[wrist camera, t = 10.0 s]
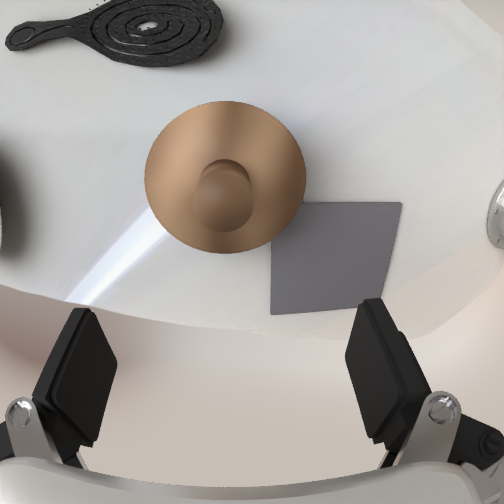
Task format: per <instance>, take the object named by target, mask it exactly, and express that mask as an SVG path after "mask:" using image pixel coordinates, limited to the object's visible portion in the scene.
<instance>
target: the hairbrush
mask: <svg viewBox="0 0 504 504" xmlns="http://www.w3.org/2000/svg"><path fill="white" fill-rule="evenodd" d="M104 1H105V0H104ZM129 1H131V0H111V1H109V2H107V3H105V4H103V5H101V6H98V8H96V9H94V10H92V11H90V12H88V13H85V14H82V15H79V16H76V17H73V18H71V19H66V20H55V21H46V22H36V21H27V22H25V23H22V24H20V25H18V26H16V27H14V28H13V29H12V31H11V32H10V33H9V34H8V36H7V37H6V41H5V45H6V46H7V48H8V49H9V50H10V51H20V50H24V49H27V48H29V47H32V46H34V45H36V44H38V43H40V42H43V41H46V40H51V39H56V38H61V37H71V38H73V39H75V40H78V41H80V42H82V43H84V44H86V45H88V46H89V47H91V48H93V49H95V50H96V51H98V52H99V53H101V54H103V55H105V56H106V57H108V58H110V59H111V60H113V61H117V62H122V63H126V64H131V65H137V66H143V67H168V66H172V65H176V64H181V63H184V62H187V61H189V60H192V59H196V58H199V57H201V56H202V55H203V54H204V53H206V52H207V51H208V50H209V49H210V47H211V46H212V45H213V44H214V43H215V42H217V39H218V36H219V34H220V31H221V29H222V24H223V21H224V20H223V17H222V14H221V11H220V9H219V7H218V6H217V5H216V4H215V3H214V1H213V0H192V1H194V2H196V3H198V4H200V5H202V6H203V7H204V8H205V9H206V10H207V11H208V13H209V15H210V17H211V19H212V22H213V26H212V29H211V21H210V18H209V16H208V15H207V13H206V12H205V11H204V10H203V8H202V7H201V6H200V5H198V4H196V3H193V2H191V1H189V0H135V1H131V2H129ZM126 2H127V3H126ZM97 5H98V4H97ZM158 5H159V6H158ZM174 5H175V6H174ZM115 6H116V7H115ZM146 6H158V7H146ZM179 6H180V7H183V8H186V9H188V10H191V11H193V12H195V13H196V14H197V15H198V16H199V17H200V19H201V22H200V21H199V19H198V17H197V16H195V15H194V13H192V12H190V11H187V10H185V9H183V8H180V7H179ZM139 7H146V8H140V9H135V8H139ZM110 8H111V9H110ZM109 9H110V10H109ZM132 9H135V10H132ZM89 10H91V9H90V8H89ZM129 10H131V11H129ZM125 11H126V12H125ZM123 12H124V13H123ZM122 13H123V14H122ZM149 14H155V15H149ZM156 14H162V15H156ZM163 14H169V15H175V16H178V17H180V18H181V19H182V20H183V21H184V23H185V25H184V24H183V22H182V21H181V20H180V19H178V18H177V17H174V16H168V15H163ZM119 15H120V16H119ZM143 15H147V16H143ZM140 16H142V17H140ZM116 17H117V18H116ZM138 17H140V18H138ZM135 18H137V19H135ZM131 20H132V21H131ZM130 21H131V22H130ZM149 21H153V22H157V23H158V25H157V27H154V28H150V27H147V28H150V29H147V30H143V31H140V29H141V28H139V29H137V25H138V24H141V23H145V22H149ZM129 22H130V23H129ZM200 23H201V24H200ZM63 26H73V27H63ZM155 26H156V25H155ZM29 27H34V28H35V29H34V28H29ZM126 27H127V29H128V32H127V31H126ZM107 28H108V29H107ZM52 29H53V30H52ZM200 29H201V30H200ZM163 31H164V32H163ZM200 31H201V32H200ZM199 32H200V33H199ZM129 33H131V34H136V35H140V36H143V37H140V36H139V37H136V36H135V37H134V36H130V35H129ZM160 33H161V34H160ZM198 33H199V34H198ZM109 34H110V35H111V36H112V37H114V38H115V39H117V40H119V41H120V42H125V43H132V44H153V43H159V42H165V43H161V44H154V45H148V46H147V45H146V46H137V45H126V44H121V43H118V42H116V41H114V40H113V39H112V38H111V37H110V36H109ZM155 34H160V35H158V36H155ZM180 34H181V35H180ZM146 35H148V36H146ZM149 35H150V36H149ZM152 35H154V36H152ZM178 35H179V36H178ZM176 36H177V37H176ZM208 36H209V37H208ZM96 37H97V38H98V39H99V41H100V42H101V43H102V44H103V45H106V46H108V47H111V48H114V49H116V50H119V51H122V52H126V53H133V54H139V55H156V56H146V57H142V56H141V57H139V56H133V55H126V54H121V53H118V52H115V51H112V50H110V49H108V48H106V47H105V46H103V45H102V44H101V43H100V42H99V41H98V40H97V38H96ZM207 37H208V38H207ZM192 40H193V41H192ZM191 41H192V42H191ZM189 42H190V44H189ZM19 44H22V45H19ZM186 44H187V45H186ZM18 45H19V46H18ZM184 45H185V46H184ZM174 50H175V51H174ZM171 51H173V52H171ZM167 52H171V53H169V54H167V55H157V54H164V53H167Z"/></svg>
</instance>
